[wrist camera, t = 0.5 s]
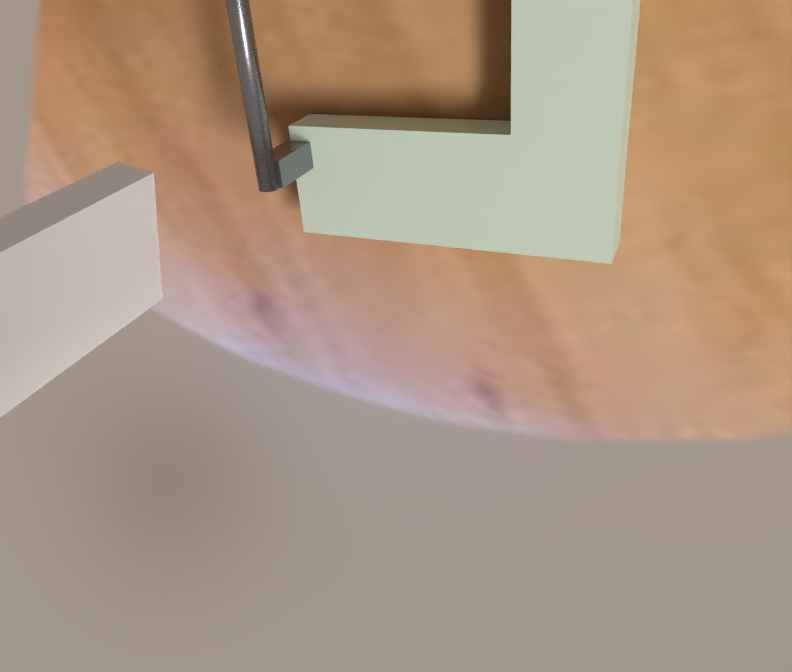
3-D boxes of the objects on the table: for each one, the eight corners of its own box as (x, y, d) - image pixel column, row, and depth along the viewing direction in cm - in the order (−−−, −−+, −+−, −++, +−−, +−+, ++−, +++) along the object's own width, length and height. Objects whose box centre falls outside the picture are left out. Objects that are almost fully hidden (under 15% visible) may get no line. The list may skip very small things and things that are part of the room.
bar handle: (234, -207, 32) (178, -215, 29) (262, -212, 31) (207, -220, 28) (291, 166, 40) (251, 191, 37) (313, 167, 39) (275, 192, 36)
